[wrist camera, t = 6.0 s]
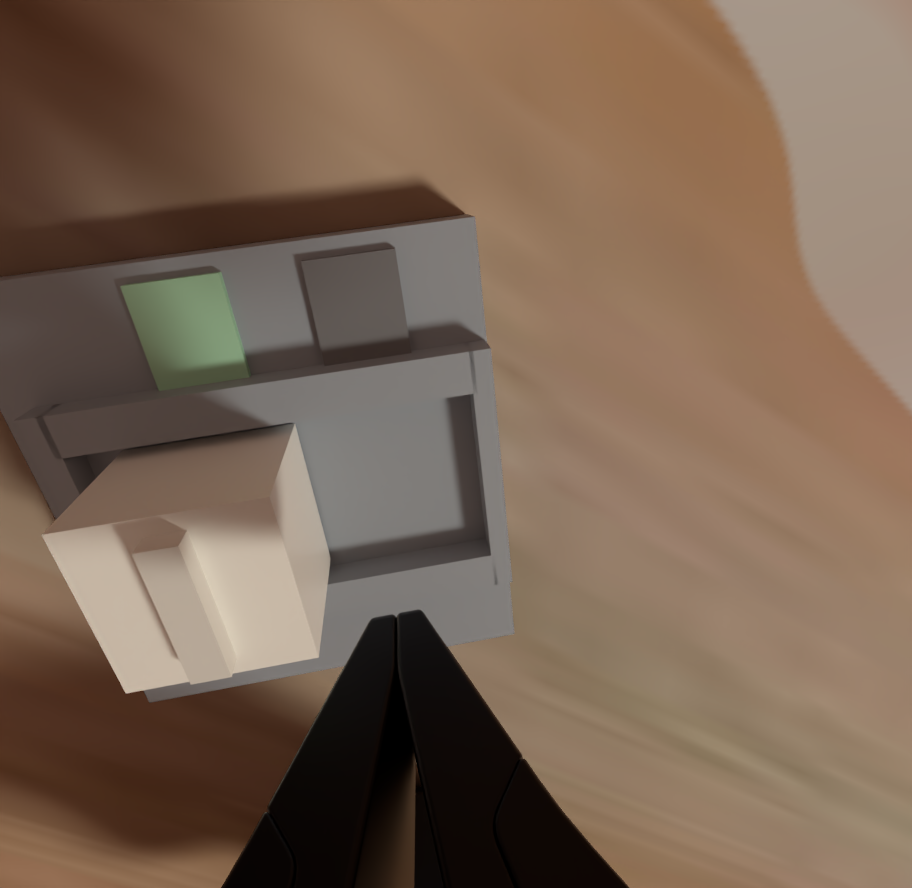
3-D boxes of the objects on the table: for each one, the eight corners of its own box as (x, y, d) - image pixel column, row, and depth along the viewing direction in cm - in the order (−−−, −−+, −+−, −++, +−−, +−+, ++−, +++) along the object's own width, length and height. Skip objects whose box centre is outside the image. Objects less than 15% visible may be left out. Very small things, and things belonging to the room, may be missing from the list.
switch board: (506, 607, 18) (520, 653, 16) (163, 670, 17) (139, 726, 16) (466, 214, 13) (481, 218, 11) (-23, 280, 12) (-92, 295, 10)
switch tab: (330, 558, 15) (316, 676, 11) (179, 584, 15) (116, 714, 11) (295, 423, 13) (264, 511, 10) (122, 450, 13) (25, 551, 9)
